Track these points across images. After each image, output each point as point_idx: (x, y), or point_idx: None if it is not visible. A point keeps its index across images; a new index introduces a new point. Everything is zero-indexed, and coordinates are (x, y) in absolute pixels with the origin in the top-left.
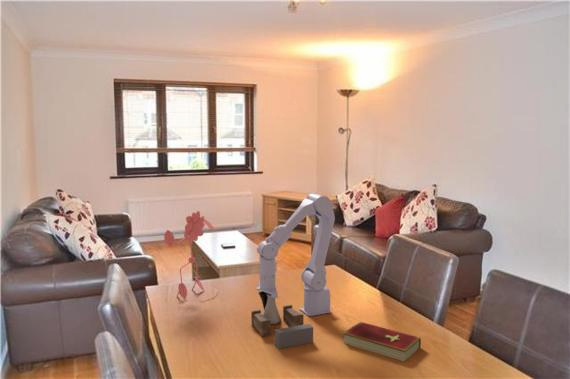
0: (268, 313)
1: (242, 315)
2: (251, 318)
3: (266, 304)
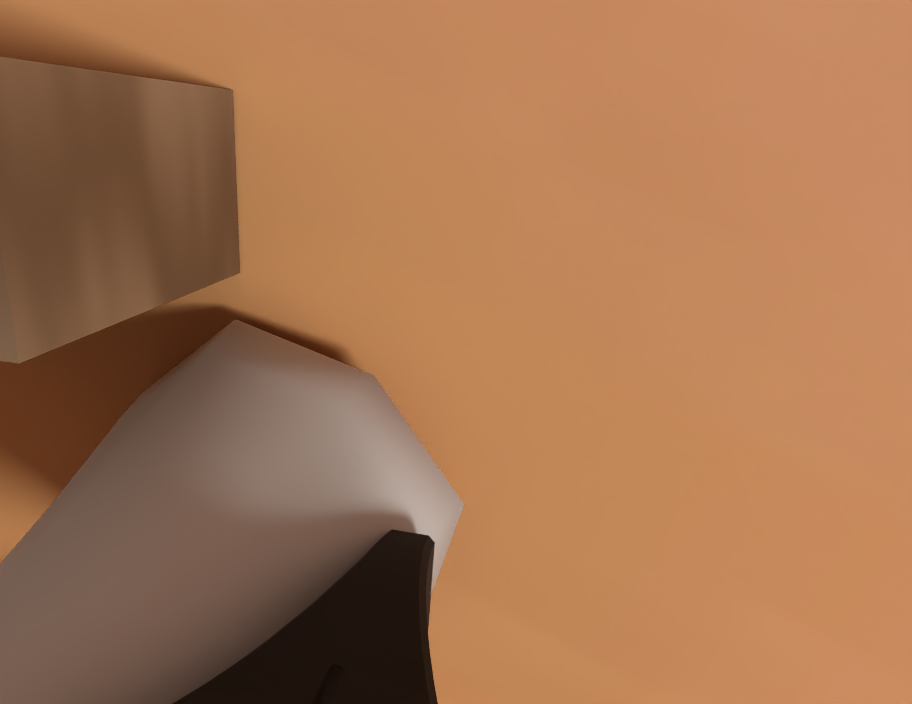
0: (68, 495)
1: (847, 136)
2: (144, 78)
3: (80, 653)
